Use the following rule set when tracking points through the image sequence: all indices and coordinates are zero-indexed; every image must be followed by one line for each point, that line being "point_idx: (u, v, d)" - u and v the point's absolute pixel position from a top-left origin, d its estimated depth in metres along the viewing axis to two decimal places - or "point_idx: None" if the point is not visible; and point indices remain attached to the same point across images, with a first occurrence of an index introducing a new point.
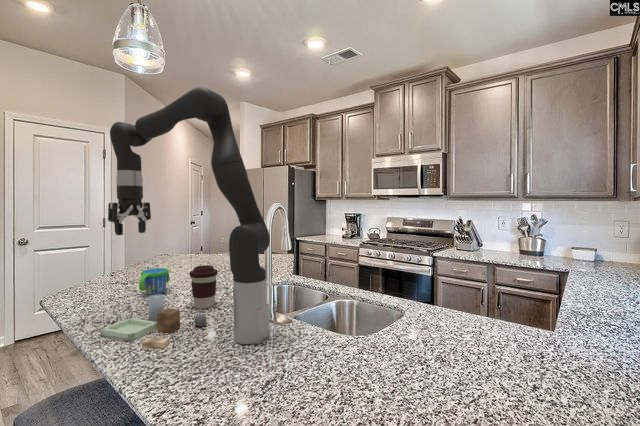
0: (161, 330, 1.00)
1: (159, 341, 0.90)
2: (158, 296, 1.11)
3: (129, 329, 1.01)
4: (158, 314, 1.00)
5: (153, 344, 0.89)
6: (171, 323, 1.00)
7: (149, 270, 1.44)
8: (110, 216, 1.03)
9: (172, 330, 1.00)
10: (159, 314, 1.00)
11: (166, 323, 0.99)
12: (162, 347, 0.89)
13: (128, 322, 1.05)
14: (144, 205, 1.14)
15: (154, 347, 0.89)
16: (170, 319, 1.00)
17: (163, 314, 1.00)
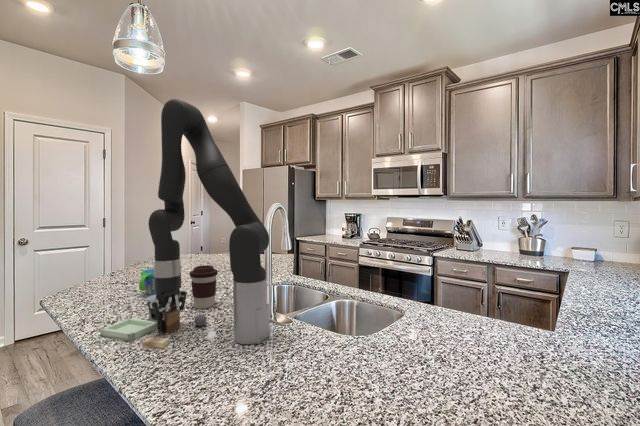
0: None
1: (158, 341, 0.90)
2: None
3: (129, 329, 1.01)
4: None
5: (152, 344, 0.89)
6: (171, 323, 1.00)
7: (149, 270, 1.44)
8: (153, 314, 0.97)
9: (172, 330, 1.00)
10: None
11: (166, 323, 0.99)
12: (162, 347, 0.89)
13: (128, 322, 1.05)
14: (181, 294, 1.06)
15: (154, 347, 0.89)
16: (170, 319, 1.00)
17: None
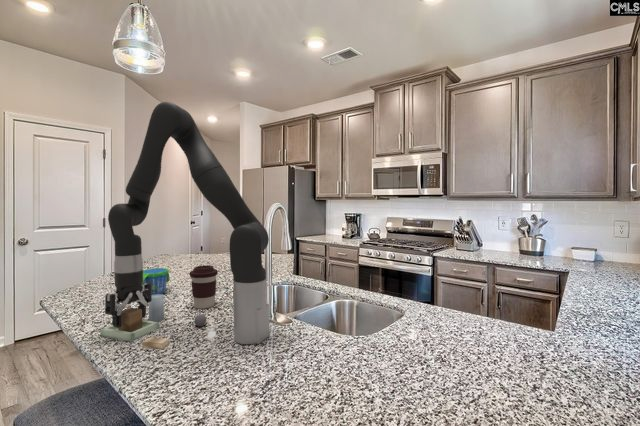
0: (122, 330, 0.99)
1: (158, 341, 0.90)
2: (158, 296, 1.11)
3: None
4: None
5: (152, 344, 0.89)
6: (132, 323, 0.99)
7: (149, 270, 1.44)
8: (107, 309, 0.94)
9: (133, 330, 0.99)
10: None
11: (126, 322, 0.98)
12: (161, 347, 0.89)
13: None
14: (144, 287, 1.05)
15: (153, 347, 0.89)
16: (131, 319, 0.98)
17: (124, 313, 0.98)
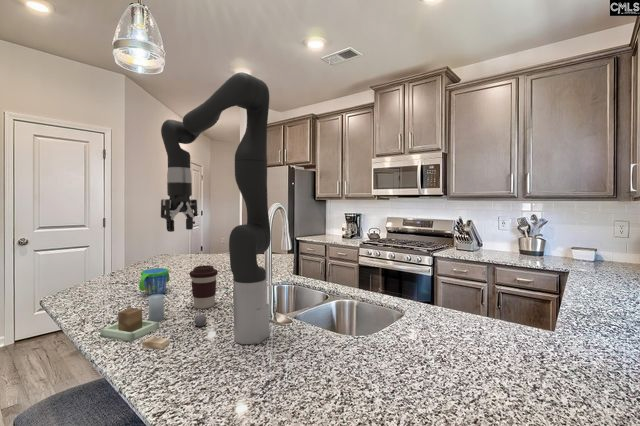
0: (122, 330, 0.99)
1: (158, 341, 0.90)
2: (158, 296, 1.11)
3: None
4: (119, 313, 0.99)
5: (152, 344, 0.89)
6: (132, 323, 0.99)
7: (149, 270, 1.44)
8: (163, 213, 1.04)
9: (133, 330, 0.99)
10: (120, 313, 0.99)
11: (126, 322, 0.98)
12: (160, 348, 0.89)
13: None
14: (191, 202, 1.15)
15: (153, 347, 0.89)
16: (131, 319, 0.98)
17: (124, 313, 0.98)
